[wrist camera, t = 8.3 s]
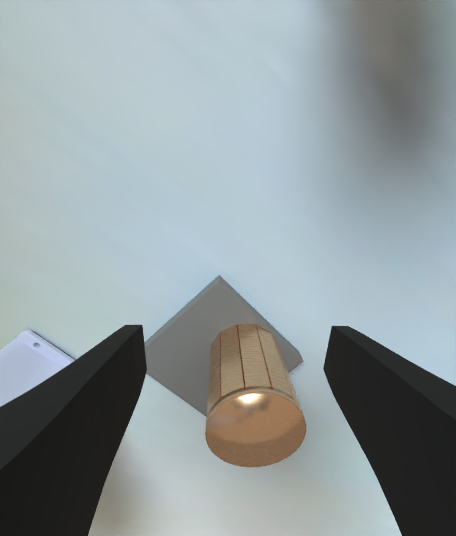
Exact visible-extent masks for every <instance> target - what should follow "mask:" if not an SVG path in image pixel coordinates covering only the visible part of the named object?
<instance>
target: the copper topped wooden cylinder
mask: <svg viewBox="0 0 456 536" xmlns="http://www.w3.org/2000/svg"><path fill="white" fill-rule="evenodd" d="M305 434H306V423H305V419H304V416H303V413H302V410H301V407H300V404H299V402H298V399H297V396H296V393H295V390H294V388H293V385H292V382H291V379H290V377H289V374H288V371H287V368H286V365H285V363H284V360H283V357H282V354H281V352H280V349H279V346H278V344H277V342H276V340H275V338H274V337H273V335H272V333H271V332H270V331H268V330H266V329H264V328H262V327H261V326H259V325H257V324H256V325H255V324H238V325H237V324H235V325H233V326H231V327H229V328H227V329H225V330H222V331H221V332H220V333H219V334H218V336H217V337H216V338H215V340H214V341H213V343H212V344H211V352H210V370H209V388H208V406H207V419H206V433H205V435H206V441H207V444H208V446H209V448H210V449H211V451H212V452H213V453H214V454H215V455H216V456H217V457H219V458H220V459H222V460H223V461H225V462H228V463H230V464H233V465H237V466H243V467H261V466H266V465H271V464H274V463H277V462H279V461H281V460H283V459H285V458H287V457H288V456H290V455H291V454H292V453H294V452H295V451H296V450H297V449H298V448H299V446H300V445H301V443H302V442H303V440H304V437H305Z"/></svg>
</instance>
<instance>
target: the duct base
mask: <svg viewBox="0 0 456 536" xmlns="http://www.w3.org/2000/svg"><path fill="white" fill-rule="evenodd" d="M235 324H237V325H238V324H255V325H256V324H257V325H259V326H261V327H262V328H264V329H266V330H268V331H270V332H271V333H272V335H273V337H274V338H275V340H276V342H277V344H278V346H279V349H280V352H281V354H282V357H283V360H284V363H285V365H286V368H287V371H288V372H289V371H291V370H292V369H294V368H295V367H296V366H298V365H299V364H301V363H302V362H303V359H302V357H301V355H300V353H299V351H298V350H297V349H296V348H295V347H294V346H293V345H292V344H290V343H289V342H288V341H287V340H286V339H285V338H284V337H283V336H282V335H281V334H280V333H279V332H278V331H277V330H276V329H275V328H274V327H273V326H272V325H271V324H270V323H269V322H268V321H267V320H265V319H264V318H263V317H262V316H261V315H260V314H259V313H258V312H257V311H256V310H255V309H254V308H253V307H252V306H251V305H250V304H249V303H248V302H247V301H246V300H245V299H244V298H243V297H241V296H240V295H239V294H238V293H237V292H236V291H235V290H234V289H233V288H232V287H231V286H230V285H229V284H228V283H227V282H226V281H225V280H224V279H223V278H222V277H221V276H220V275H219V276H218V277H217V278H216V279H215V280H213V281H212V282H211V283H210V284H209V285H208V286H207V287H206V288H205V289H203V290H202V291H201V292H200V293H199V294H198V295H197V296H196V297H195V298H193V299H192V300H191V301H190V302H189V303H188V304H187V305H186V306H185V307H184V308H182V309H181V310H180V311H179V312H178V313H177V314H176V315H175V316H174V317H172V318H171V319H170V320H169V321H168V322H167V323H166V324H165V325H164V326H163V327H161V328H160V329H159V330H158V331H157V332H156V333H155V334H154V335H153V336H151V337H150V338H149V339H148V340H147V341H146V342H145V343H144V346H145V355H146V364H147V371H146V373H147V374H148V375H149V376H151V377H152V378H154V379H155V380H156V381H158V382H159V383H161V384H162V385H163V386H165V387H166V388H167V389H169V390H170V391H172V392H173V393H174V394H176V395H177V396H179V397H180V398H181V399H183V400H184V401H186V402H187V403H188V404H190V405H191V406H193V407H194V408H195V409H197V410H198V411H199V412H201V413H202V414H204V415H205V416H206V417H207V406H208V388H209V370H210V352H211V344H212V343H213V341H214V340H215V338H216V337H217V336H218V334H219V333H220V332H221V331H222V330H225V329H227V328H229V327H231V326H233V325H235Z"/></svg>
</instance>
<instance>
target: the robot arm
mask: <svg viewBox="0 0 456 536" xmlns="http://www.w3.org/2000/svg"><path fill="white" fill-rule="evenodd" d="M38 343H39V344H40V345H39V344H38ZM323 369H324V372H325V375H326V377H327V380H328V383H329V385H330V388H331V390H332V393H333V395H334V397H335V399H336V401H337V403H338V405H339V407H340V408H341V410H342V412H343V414H344V416H345V418H346V420H347V422H348V423H349V425H350V427H351V429H352V431H353V433H354V435H355V436H356V438H357V440H358V442H359V444H360V446H361V448H362V449H363V451H364V453H365V455H366V457H367V459H368V461H369V463H370V465H371V467H372V469H373V471H374V473H375V475H376V477H377V479H378V481H379V483H380V485H381V488H382V490H383V492H384V495H385V497H386V499H387V501H388V504H389V506H390V508H391V510H392V513H393V515H394V517H395V520H396V522H397V524H398V527H399V529H400V532H401V534H402V536H456V386H454V385H452V384H451V383H449V382H447V381H445V380H443V379H441V378H439V377H437V376H436V375H434V374H432V373H430V372H428V371H426V370H424V369H423V368H421V367H419V366H417V365H415V364H414V363H412V362H410V361H408V360H407V359H405V358H403V357H401V356H400V355H398V354H396V353H395V352H393V351H391V350H389V349H388V348H386V347H384V346H383V345H381V344H379V343H378V342H376V341H374V340H372V339H371V338H369V337H367V336H366V335H364V334H362V333H360V332H358V331H357V330H355V329H353V328H351V327H349V326H332V329H331V334H330V338H329V343H328V348H327V353H326V358H325V363H324V368H323ZM146 371H147V364H146V355H145V346H144V336H143V327H142V325H125V326H123V327H122V328H120V329H119V330H117V331H116V332H114V333H113V334H112V335H110V336H109V337H107V338H106V339H105V340H103V341H102V342H101V343H99V344H98V345H96V346H95V347H94V348H92V349H91V350H89V351H88V352H87V353H85V354H84V355H82V356H81V357H79V358H78V359H77V360H74V359H72V358H71V357H69V356H68V355H67V354H65V353H64V352H62V351H61V350H59V349H58V348H56V347H55V346H53V345H52V344H50V343H49V342H47V341H46V340H44V339H43V338H41V337H40V336H38V335H37V334H35V333H34V332H32V331H30V330H25V331H23V332H22V333H20V334H19V335H18V337H17V338H16V339H14V340H13V341H12V342H11V343H9V344H8V345H7V346H5V347H4V348H3V349H1V350H0V536H88V533H89V530H90V527H91V524H92V520H93V517H94V514H95V511H96V508H97V505H98V502H99V499H100V496H101V492H102V489H103V486H104V483H105V481H106V478H107V475H108V473H109V470H110V467H111V465H112V462H113V460H114V457H115V455H116V453H117V450H118V448H119V445H120V443H121V440H122V438H123V436H124V433H125V431H126V428H127V426H128V423H129V421H130V419H131V416H132V414H133V411H134V409H135V406H136V404H137V401H138V399H139V396H140V393H141V389H142V386H143V382H144V379H145V375H146Z"/></svg>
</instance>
